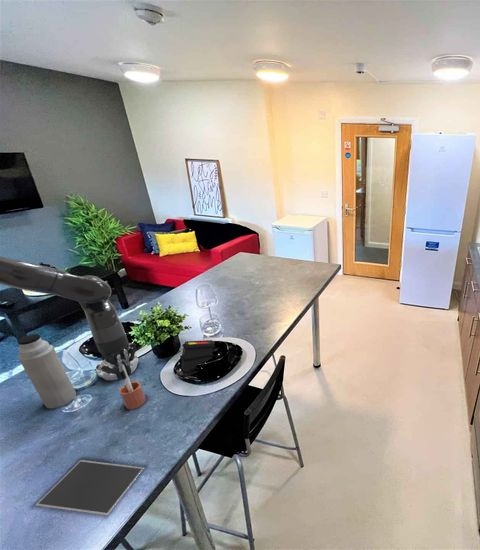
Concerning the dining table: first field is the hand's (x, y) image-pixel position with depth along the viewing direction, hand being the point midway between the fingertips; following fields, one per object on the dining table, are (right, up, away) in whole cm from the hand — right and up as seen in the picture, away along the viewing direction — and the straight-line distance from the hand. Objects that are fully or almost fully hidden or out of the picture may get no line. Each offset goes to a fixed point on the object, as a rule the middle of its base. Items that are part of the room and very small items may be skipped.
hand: (125, 376), depth 99 cm
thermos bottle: (-28, -11, +5) cm, 30 cm away
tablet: (+8, -24, -20) cm, 32 cm away
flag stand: (-18, -5, +20) cm, 27 cm away
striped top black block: (+13, -5, +23) cm, 27 cm away
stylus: (0, -8, +4) cm, 9 cm away
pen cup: (0, -12, +5) cm, 13 cm away
